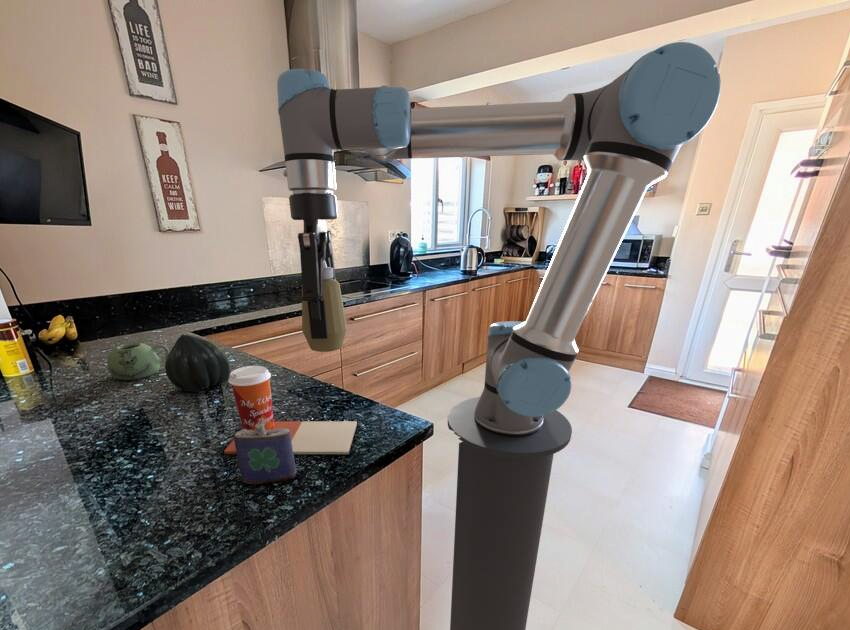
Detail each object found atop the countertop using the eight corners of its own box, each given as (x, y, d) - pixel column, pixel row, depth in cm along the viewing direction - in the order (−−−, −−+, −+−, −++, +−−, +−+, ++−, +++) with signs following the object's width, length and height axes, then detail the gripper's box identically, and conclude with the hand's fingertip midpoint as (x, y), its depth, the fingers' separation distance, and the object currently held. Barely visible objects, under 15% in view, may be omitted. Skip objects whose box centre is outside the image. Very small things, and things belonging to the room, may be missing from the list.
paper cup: (249, 449, 75) (236, 382, 70) (234, 435, 80) (221, 371, 75) (287, 435, 80) (277, 371, 74) (270, 422, 85) (260, 361, 80)
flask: (297, 470, 70) (289, 417, 65) (295, 481, 67) (286, 426, 63) (244, 474, 69) (232, 421, 64) (239, 485, 66) (227, 430, 62)
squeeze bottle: (335, 339, 78) (328, 243, 71) (356, 349, 72) (350, 245, 65) (297, 347, 74) (285, 246, 67) (315, 358, 68) (304, 248, 61)
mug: (110, 386, 107) (100, 356, 104) (111, 372, 117) (102, 344, 114) (175, 373, 115) (168, 345, 112) (171, 361, 125) (164, 335, 122)
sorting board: (357, 423, 85) (356, 421, 85) (348, 454, 74) (348, 451, 74) (248, 423, 86) (248, 421, 86) (224, 454, 75) (223, 451, 75)
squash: (235, 372, 100) (217, 322, 103) (169, 387, 93) (153, 333, 96) (235, 391, 112) (219, 346, 115) (177, 406, 105) (162, 357, 108)
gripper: (306, 196, 72) (317, 318, 81) (266, 189, 53) (287, 348, 62) (346, 196, 72) (353, 317, 81) (321, 188, 53) (334, 348, 62)
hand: (325, 331), depth 72 cm, fingers closed on squeeze bottle, 8 cm apart
